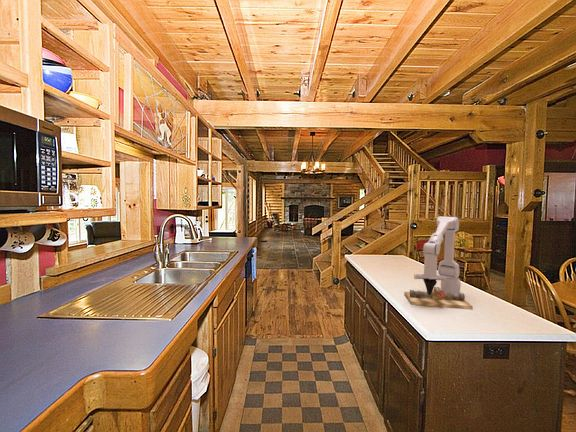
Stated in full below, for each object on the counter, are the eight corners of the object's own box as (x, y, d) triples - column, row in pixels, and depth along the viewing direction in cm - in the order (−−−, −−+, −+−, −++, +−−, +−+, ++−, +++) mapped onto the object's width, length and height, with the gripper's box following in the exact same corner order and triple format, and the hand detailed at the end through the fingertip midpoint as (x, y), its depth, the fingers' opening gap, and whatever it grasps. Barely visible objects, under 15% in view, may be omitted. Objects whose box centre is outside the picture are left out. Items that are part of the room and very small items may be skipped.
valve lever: (433, 289, 155) (433, 286, 155) (438, 289, 155) (438, 286, 155) (440, 296, 144) (440, 293, 144) (445, 296, 144) (446, 293, 144)
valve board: (459, 298, 160) (460, 287, 159) (472, 309, 144) (473, 297, 143) (404, 294, 164) (404, 284, 164) (411, 304, 149) (411, 293, 148)
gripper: (417, 268, 145) (415, 295, 146) (449, 269, 143) (447, 297, 144) (413, 264, 152) (412, 290, 153) (444, 266, 150) (442, 293, 151)
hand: (429, 293), depth 149 cm, fingers closed
